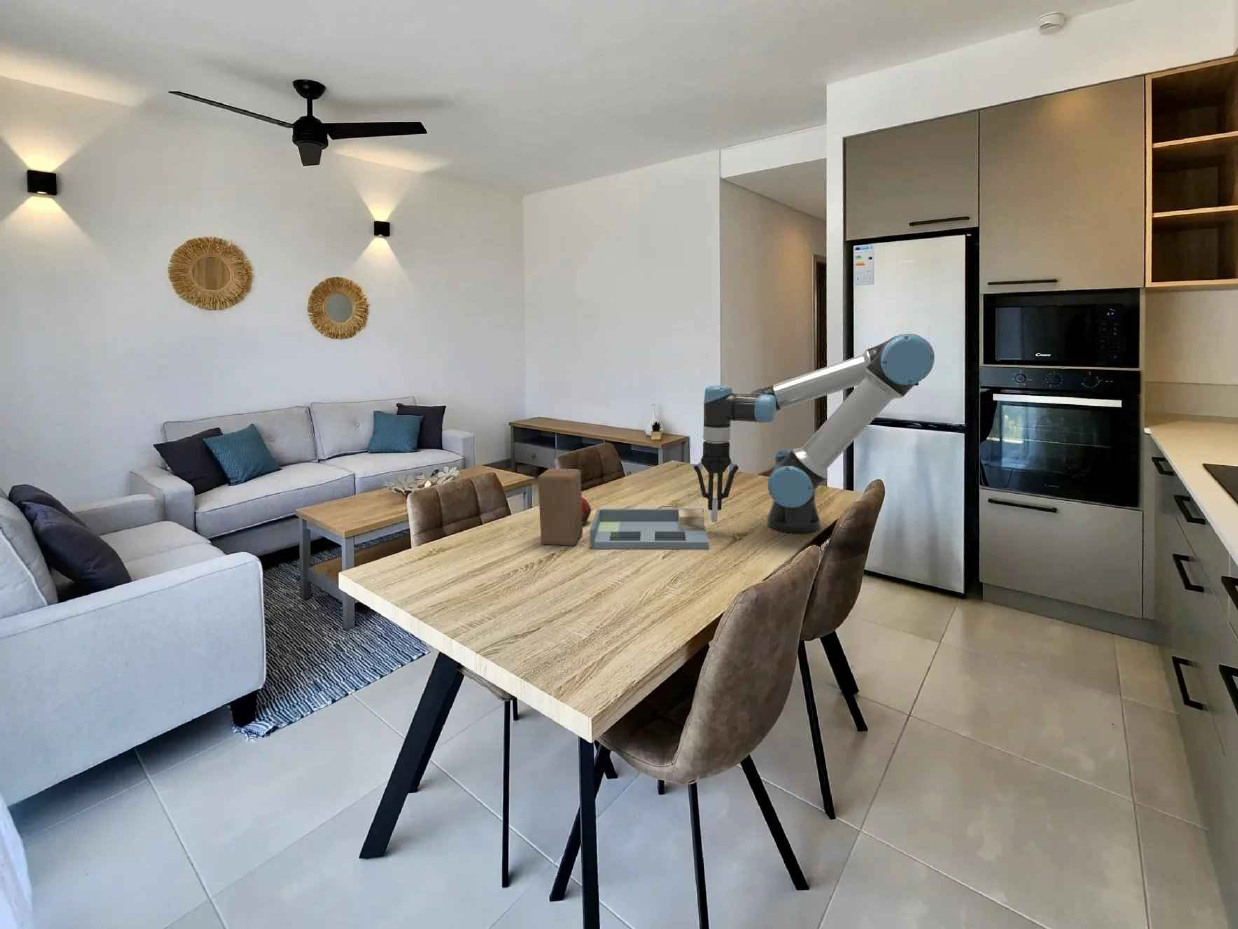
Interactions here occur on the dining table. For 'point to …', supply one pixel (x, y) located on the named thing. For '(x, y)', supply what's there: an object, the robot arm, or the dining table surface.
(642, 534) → the board
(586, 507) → the fruit
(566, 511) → the wooden block
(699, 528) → the beech block
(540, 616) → the dining table surface
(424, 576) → the dining table surface
